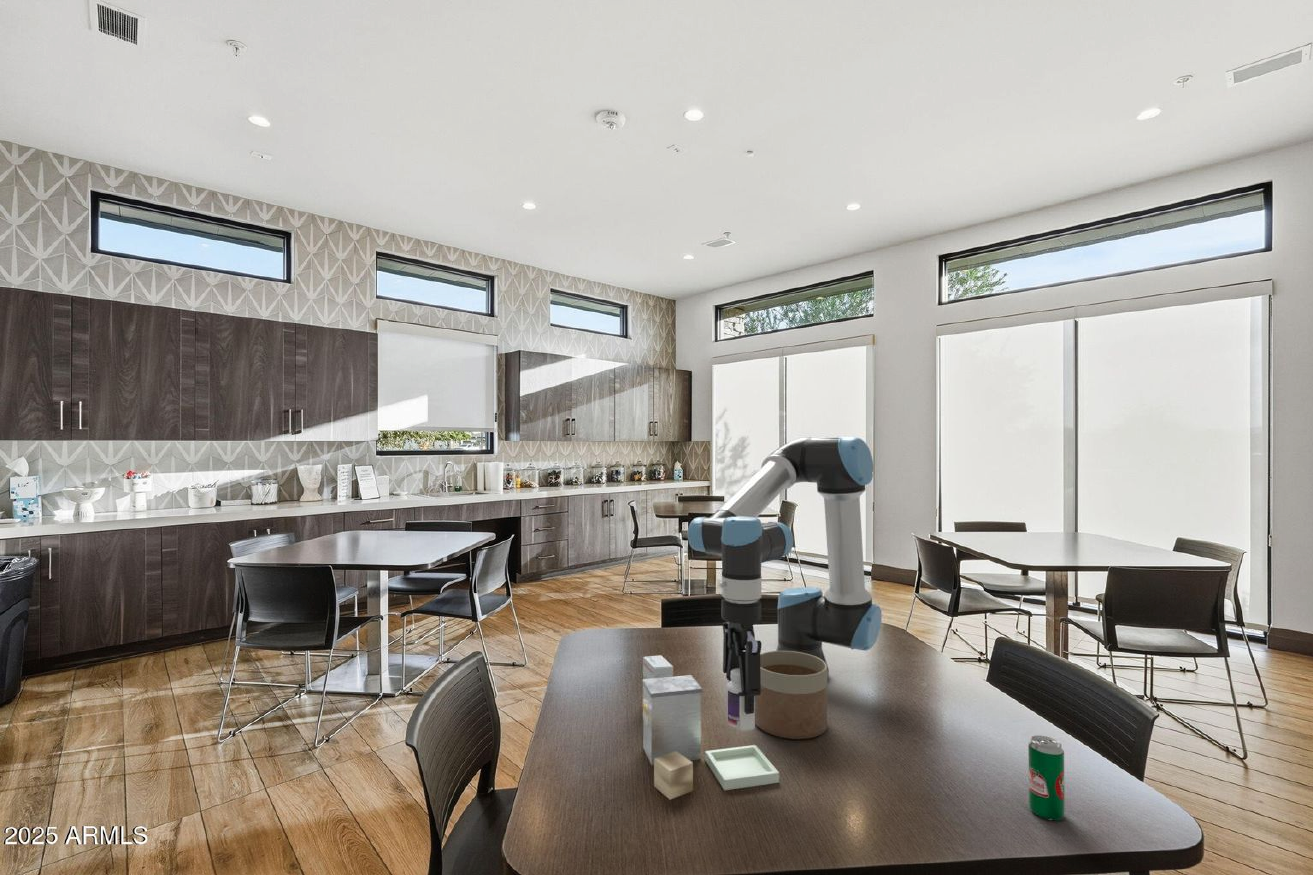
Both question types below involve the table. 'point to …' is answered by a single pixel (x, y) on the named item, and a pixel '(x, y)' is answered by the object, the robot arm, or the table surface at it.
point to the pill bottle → (733, 698)
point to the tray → (741, 767)
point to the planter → (792, 695)
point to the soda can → (1046, 777)
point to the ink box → (656, 668)
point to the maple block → (673, 775)
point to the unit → (672, 717)
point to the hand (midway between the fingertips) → (740, 721)
